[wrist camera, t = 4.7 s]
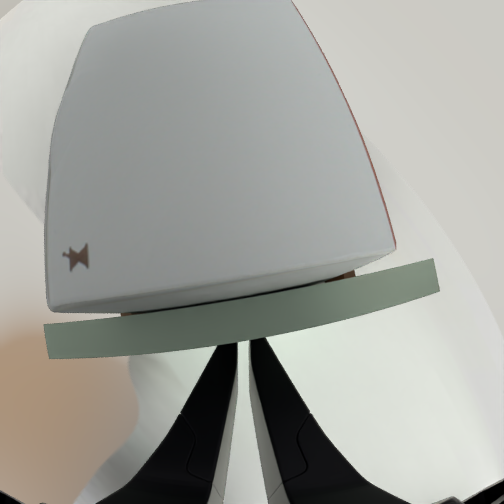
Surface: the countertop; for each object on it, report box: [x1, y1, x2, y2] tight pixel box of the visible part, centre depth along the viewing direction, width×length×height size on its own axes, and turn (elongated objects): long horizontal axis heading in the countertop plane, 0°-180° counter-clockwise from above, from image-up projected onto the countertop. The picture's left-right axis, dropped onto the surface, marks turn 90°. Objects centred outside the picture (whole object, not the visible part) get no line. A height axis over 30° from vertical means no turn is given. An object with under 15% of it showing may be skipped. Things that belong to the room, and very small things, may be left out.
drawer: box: [44, 258, 440, 359], centre depth 13 cm, size 11×11×10 cm
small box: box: [44, 0, 396, 313], centre depth 11 cm, size 8×6×13 cm
